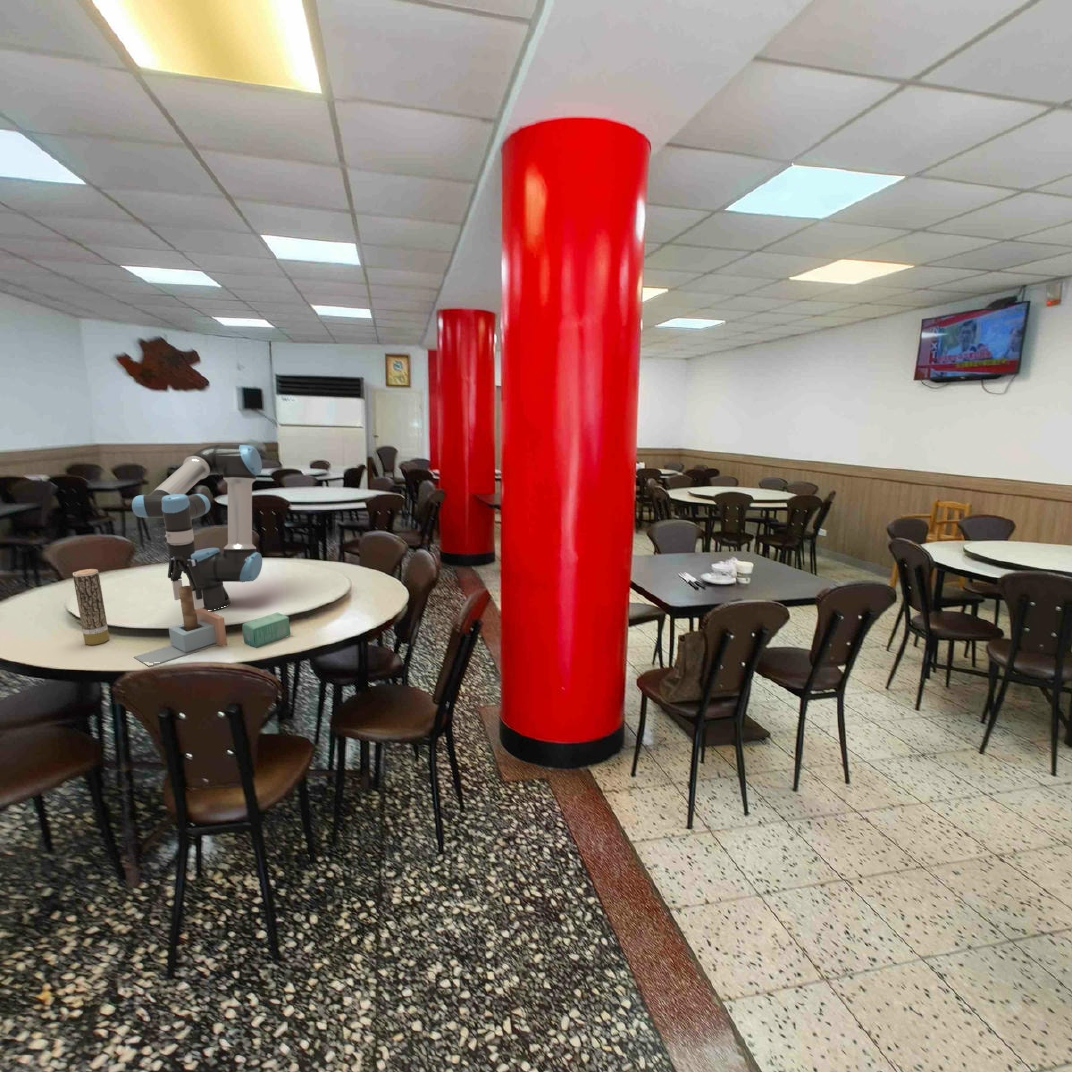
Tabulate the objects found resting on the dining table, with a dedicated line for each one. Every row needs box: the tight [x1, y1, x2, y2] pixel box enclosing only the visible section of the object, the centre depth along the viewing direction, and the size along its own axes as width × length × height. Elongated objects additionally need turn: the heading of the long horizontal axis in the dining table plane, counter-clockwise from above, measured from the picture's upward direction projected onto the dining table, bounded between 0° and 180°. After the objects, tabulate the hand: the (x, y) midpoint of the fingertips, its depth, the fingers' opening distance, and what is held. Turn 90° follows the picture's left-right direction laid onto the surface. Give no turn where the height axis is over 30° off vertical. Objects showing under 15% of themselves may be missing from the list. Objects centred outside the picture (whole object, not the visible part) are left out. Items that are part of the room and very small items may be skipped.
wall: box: [196, 608, 228, 648], centre depth 201 cm, size 2×16×10 cm, turn 55°
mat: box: [133, 643, 218, 668], centre depth 193 cm, size 23×11×1 cm, turn 145°
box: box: [241, 612, 291, 648], centre depth 203 cm, size 7×14×8 cm, turn 146°
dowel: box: [179, 585, 198, 632], centre depth 194 cm, size 4×4×18 cm
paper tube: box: [72, 568, 110, 646], centre depth 196 cm, size 7×7×25 cm
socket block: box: [168, 619, 216, 652], centre depth 196 cm, size 10×10×6 cm
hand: (189, 603), depth 194 cm, fingers open, 13 cm apart
